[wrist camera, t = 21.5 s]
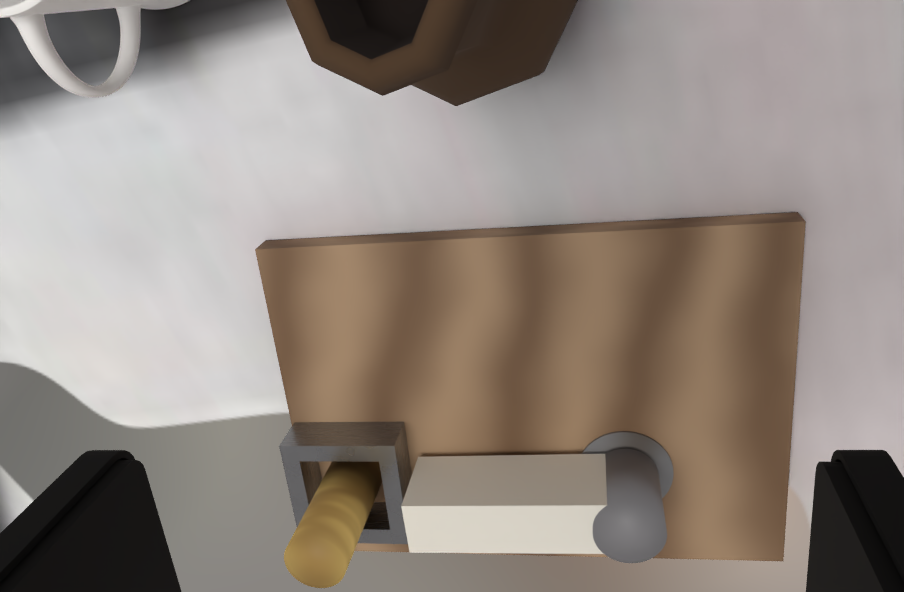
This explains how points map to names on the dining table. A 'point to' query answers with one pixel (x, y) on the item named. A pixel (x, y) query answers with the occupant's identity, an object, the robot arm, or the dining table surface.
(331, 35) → the beer bottle
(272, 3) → the dining table surface
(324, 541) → the pin
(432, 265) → the board
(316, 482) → the collar
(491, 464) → the handle
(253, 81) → the dining table surface
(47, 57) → the mug
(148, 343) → the dining table surface
